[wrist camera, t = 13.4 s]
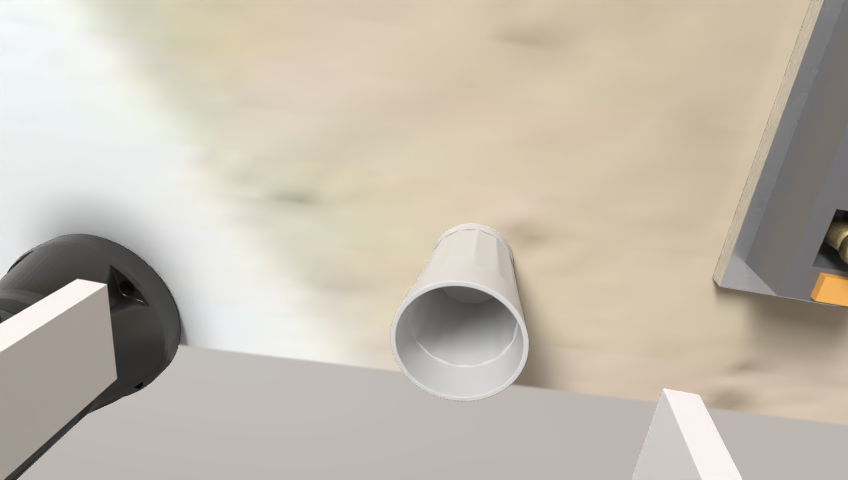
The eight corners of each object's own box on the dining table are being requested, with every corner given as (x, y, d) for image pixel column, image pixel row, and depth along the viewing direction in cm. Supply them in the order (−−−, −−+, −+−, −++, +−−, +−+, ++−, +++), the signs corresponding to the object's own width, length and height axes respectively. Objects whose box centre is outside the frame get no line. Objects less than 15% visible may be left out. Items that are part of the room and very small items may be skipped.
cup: (466, 191, 41) (450, 253, 30) (546, 259, 42) (559, 343, 31) (400, 263, 44) (363, 344, 33) (476, 325, 45) (465, 424, 34)
